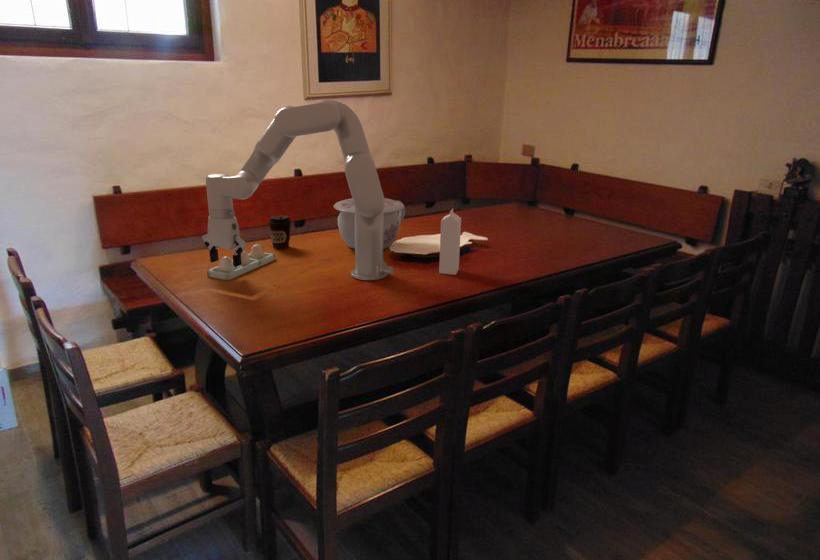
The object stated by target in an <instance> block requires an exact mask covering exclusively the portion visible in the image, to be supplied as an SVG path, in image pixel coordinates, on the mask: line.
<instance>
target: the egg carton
mask: <svg viewBox="0 0 820 560" xmlns="http://www.w3.org/2000/svg"><path fill="white" fill-rule="evenodd" d="M247 254H248V257H249V260H250V261H249V264H247V265H245V266H237V267H234V269H233V271H231V272H229V273H224V272H220V270H219V265H217V266H214V267H212V268H210V269H207V270H206V276H207V278H208V277H209V278H214V279H218V280H225V281H230V280H232V279H234V278H237V277H239V276H241V275H244V274H246V273H248V272H250V271H253V270H255V269H257V268H259V267H261V266H264V265H266V264H269V263H270V262H273V261H275V260H276V253H272V252H271V253H270V252H265V251H264V257H263V258H262V259H259V260H257V259H252V258H251V256H250V252H249V253H247ZM231 260H232V263H233V259H231Z"/></svg>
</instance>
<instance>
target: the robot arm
mask: <svg viewBox="0 0 820 560" xmlns="http://www.w3.org/2000/svg"><path fill="white" fill-rule="evenodd" d="M332 130H333V131H334V132H335V134H336V136H337V140H338V144H339V146H340V149H341V153H342V156H343V157H342V158H343V160H344V174H345V177H346V181H347V185H348V188H349V190H350V194H351V197H352V198H353V201H354V207H355V249H354V257H355V258H354V259H355V263H354V264H355V265H354V266H355V267H354V268H352V270H350V275H351V277H352V278H354V279H357V280H361V281H377V280H378V281H379V280H382V279H384V278H386V277H387V276H388V275H392V276H393V274H394V267H393V266H388V265H387V262H386V261H384V249H383V231H384V229H383V226H384V224H383V209H384V206H385V199H384V198H385V196H384V192H383V189H382V186H381V182H380V178H379V174H378V171H377V168H376V167H377V166H376V164H375V161H374V158H373V156H372V154H371V151H370V148H369V144H368V140H367V138H366V134H365V131H364V128H363V126H362V123H361V121H360V119H359V116H357V114H356V113H355V111H354V110H353V109H352V108H351V107H349V106H348V105H346V104H345V103H343V102H341V101H338V100H334V99H323V100H320V101H319V102H317V103H316V102H315V103H310V104H304V105H299V106H293V105H285V106H283V107H282V108H280V109H279V110H278V111H277V112H276V113H275V115H274V118H273V120H272V121H270V124H269V125H268V126H267V128H266V129H265V131H264V132H263V133H262V135H261V136H260V137H259V139H258V140H257V141H256V143H255V145H254V149H253V151H252V153H251V155H250V156H249V158H248V159H247V161H246V162H245V164H244V165H243V167H241V169H240V170H239V172H238V173H237V174H236V175H234V176H230V175H229V174H226V173H212V174H208V175H207V176H206V178H205V185H206V187H205V188H206V197H207V205H208V217H207V218H208V220H207V233H206V234H204V235H202V237H201V238H202V240H203V242H204V246H206V247H207V250H208V252H209V259H210V260H209V261H210V263H215V262H218V261H220V260H219V252H218V251H219V250H218V248H221V249H227V250H230V251H231V252H232V253H233V255H232V260H233V265H234V267H237V266H239V265H241V253H242V252H243V250H244V251H245V249H246V245H247V242H246V241H245V240H244V239H242V238H241V234H240V233H241V232H240V228H239V223H238V220H237V217H236V216H235V215H236V211H234V205H233V204H234V203H233V199H234V200H235V199H236V200H246V199H249V198H251V197H252V196H253V194H254V192H255V191H256V190H257V189H258V188H259V186H260V184H261V183H262V182H263V181H264V179H265V177H266V176H267V175H268V173H269V172H270V171H271V170H272V168H273V167H274V166H275V165H276V164H277V163H278V162H279V161H280V159H281V158H282V157H283V156H284V154H285V152H287V150H288V149H289V147H290V146H291V145H292V143H293V142H294V140H295V139H296V137H300V136H306V135H312V134H319V133H324V132H325V133H326V132H330V131H332Z"/></svg>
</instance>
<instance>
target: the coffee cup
mask: <svg viewBox="0 0 820 560" xmlns="http://www.w3.org/2000/svg"><path fill="white" fill-rule="evenodd" d="M291 225H292V219H291V218H290V216H288V215H284V214H283V215H271V216H270V217H269V220H268V226H269V233H270V239H271V240H270V241H271V244H272V248H273V249H274V250H279V251H280V250H287V249H289V248H290V239H291V233H292V232H291V231H292V230H291Z"/></svg>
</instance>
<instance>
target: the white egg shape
mask: <svg viewBox="0 0 820 560" xmlns="http://www.w3.org/2000/svg"><path fill="white" fill-rule="evenodd" d="M232 260H233V259H231V257H230V256H227V255H225V256H222V257H221V258H220V260H219V263H218V266H219V270H220V272H224V273H229V272H231V271H233V269H234V265H233V263H232Z"/></svg>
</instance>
